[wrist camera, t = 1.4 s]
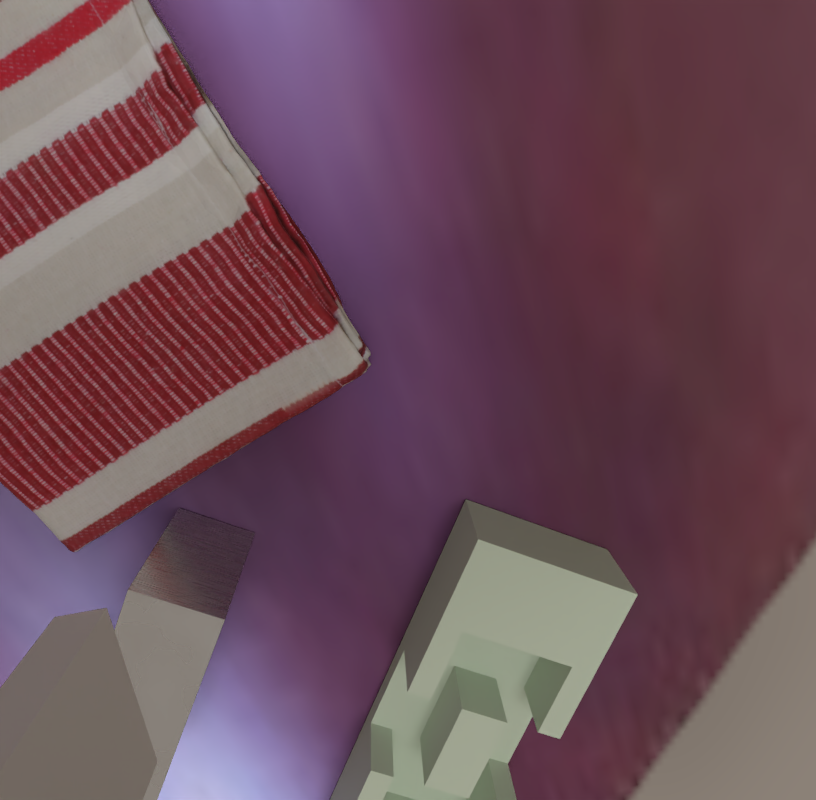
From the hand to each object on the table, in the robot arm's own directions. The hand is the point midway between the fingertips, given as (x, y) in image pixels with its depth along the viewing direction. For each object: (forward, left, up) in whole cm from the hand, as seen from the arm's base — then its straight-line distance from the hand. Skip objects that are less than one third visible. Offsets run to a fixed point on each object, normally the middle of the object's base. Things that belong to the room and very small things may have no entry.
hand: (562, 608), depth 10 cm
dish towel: (-16, -1, -22) cm, 27 cm away
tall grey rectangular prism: (-6, -16, -21) cm, 27 cm away
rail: (+8, -16, -21) cm, 28 cm away
